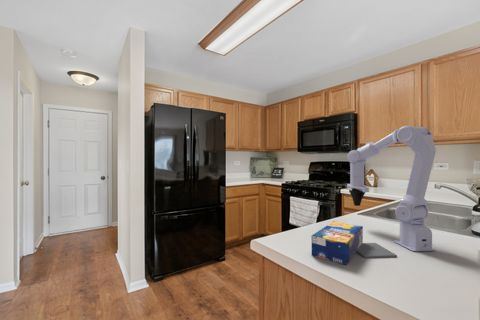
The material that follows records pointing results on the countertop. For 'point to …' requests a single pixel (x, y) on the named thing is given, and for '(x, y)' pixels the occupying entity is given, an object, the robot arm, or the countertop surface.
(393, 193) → the countertop surface
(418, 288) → the countertop surface
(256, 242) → the countertop surface
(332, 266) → the countertop surface
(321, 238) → the beverage box
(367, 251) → the mat
